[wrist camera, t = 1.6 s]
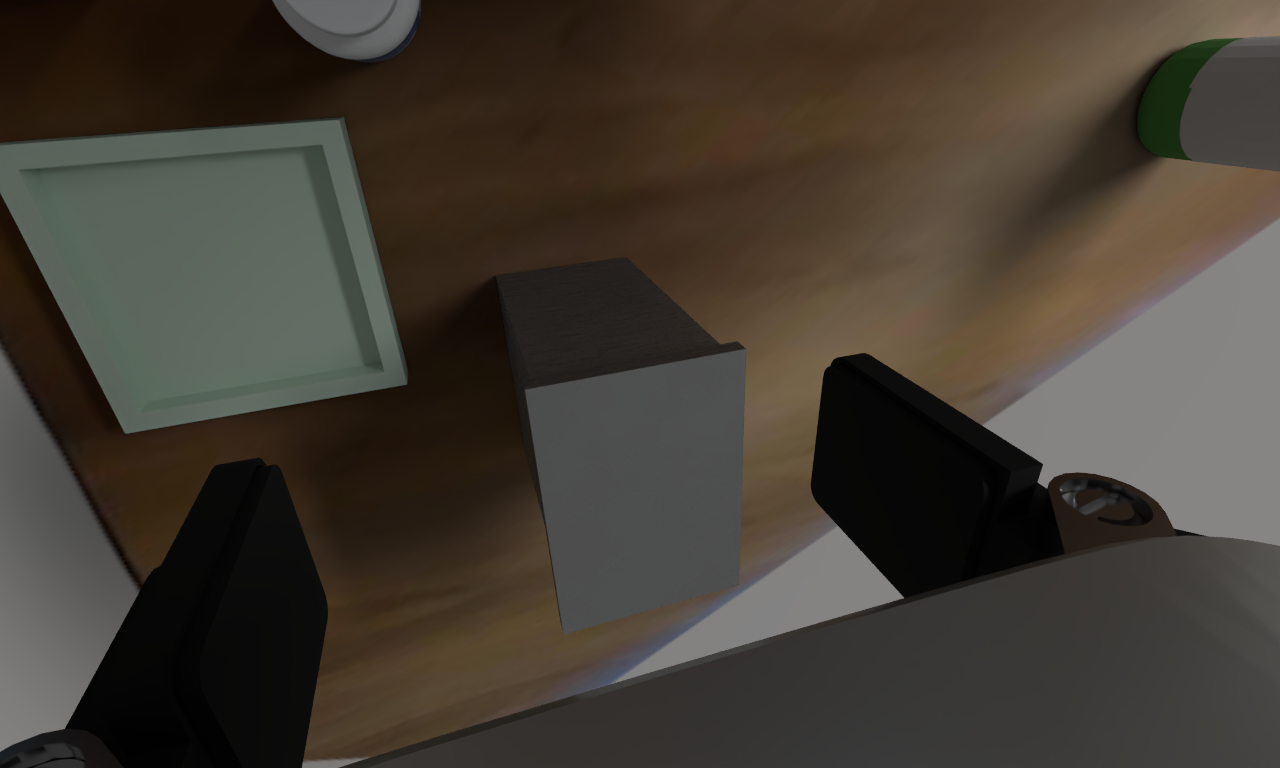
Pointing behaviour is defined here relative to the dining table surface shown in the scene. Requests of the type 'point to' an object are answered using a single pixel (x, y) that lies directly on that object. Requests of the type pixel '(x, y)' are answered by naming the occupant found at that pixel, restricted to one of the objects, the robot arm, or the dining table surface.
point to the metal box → (626, 438)
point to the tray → (210, 265)
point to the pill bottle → (354, 26)
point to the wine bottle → (1216, 104)
